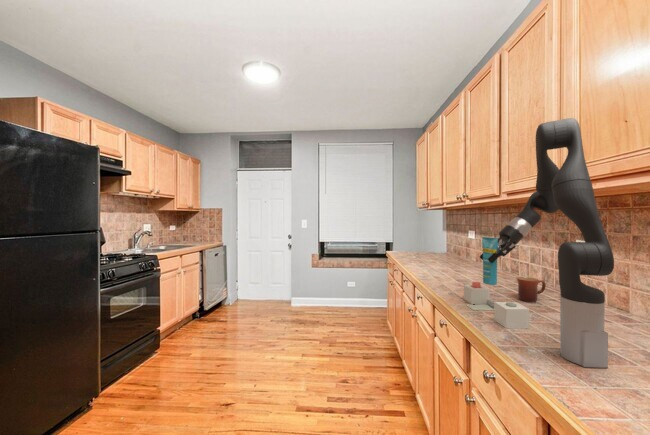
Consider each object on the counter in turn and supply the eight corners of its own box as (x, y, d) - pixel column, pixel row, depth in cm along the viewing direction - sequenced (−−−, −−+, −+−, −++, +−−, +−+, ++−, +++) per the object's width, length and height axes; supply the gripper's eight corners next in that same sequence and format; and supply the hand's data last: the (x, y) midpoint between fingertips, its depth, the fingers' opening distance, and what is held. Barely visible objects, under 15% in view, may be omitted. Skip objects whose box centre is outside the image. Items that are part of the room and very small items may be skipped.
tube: (477, 282, 117) (477, 236, 117) (485, 281, 119) (485, 236, 119) (494, 286, 111) (494, 238, 110) (502, 285, 113) (502, 237, 112)
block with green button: (529, 328, 100) (529, 307, 100) (506, 328, 101) (506, 307, 101) (515, 320, 108) (515, 300, 108) (494, 319, 109) (494, 300, 109)
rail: (518, 320, 108) (518, 313, 108) (512, 320, 108) (512, 313, 108) (492, 304, 127) (492, 299, 127) (487, 304, 127) (487, 299, 127)
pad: (494, 310, 119) (494, 309, 119) (472, 310, 120) (472, 309, 120) (486, 305, 125) (486, 304, 125) (466, 305, 126) (466, 304, 126)
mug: (523, 303, 128) (523, 281, 128) (512, 297, 137) (512, 276, 137) (551, 303, 127) (551, 281, 127) (538, 298, 136) (538, 277, 136)
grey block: (489, 304, 127) (489, 289, 127) (471, 304, 127) (471, 289, 127) (480, 299, 135) (480, 284, 135) (463, 299, 135) (463, 284, 135)
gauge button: (481, 292, 129) (481, 283, 129) (474, 292, 129) (474, 283, 129) (478, 290, 133) (478, 281, 132) (470, 290, 133) (470, 281, 133)
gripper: (498, 223, 121) (470, 251, 122) (519, 225, 107) (487, 256, 108) (511, 235, 121) (483, 263, 122) (534, 239, 107) (502, 270, 108)
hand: (485, 260), depth 115 cm, fingers closed on tube, 6 cm apart
